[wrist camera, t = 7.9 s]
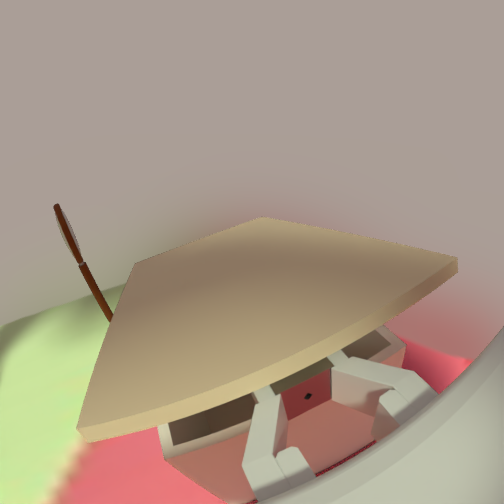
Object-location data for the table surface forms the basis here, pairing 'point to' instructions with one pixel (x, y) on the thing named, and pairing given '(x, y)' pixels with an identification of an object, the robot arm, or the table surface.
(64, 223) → the magnifying glass
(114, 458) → the table surface
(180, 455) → the carton
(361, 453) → the robot arm
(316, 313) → the lid flap
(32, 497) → the table surface
